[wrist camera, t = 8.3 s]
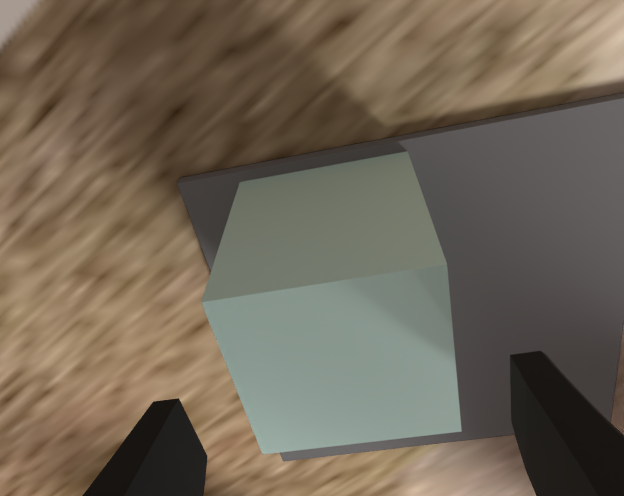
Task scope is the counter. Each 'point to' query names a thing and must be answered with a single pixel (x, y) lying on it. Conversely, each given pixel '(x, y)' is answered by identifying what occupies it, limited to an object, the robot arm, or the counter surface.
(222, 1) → the counter surface
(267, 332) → the pale green block
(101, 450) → the counter surface
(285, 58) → the counter surface
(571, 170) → the rubber mat
